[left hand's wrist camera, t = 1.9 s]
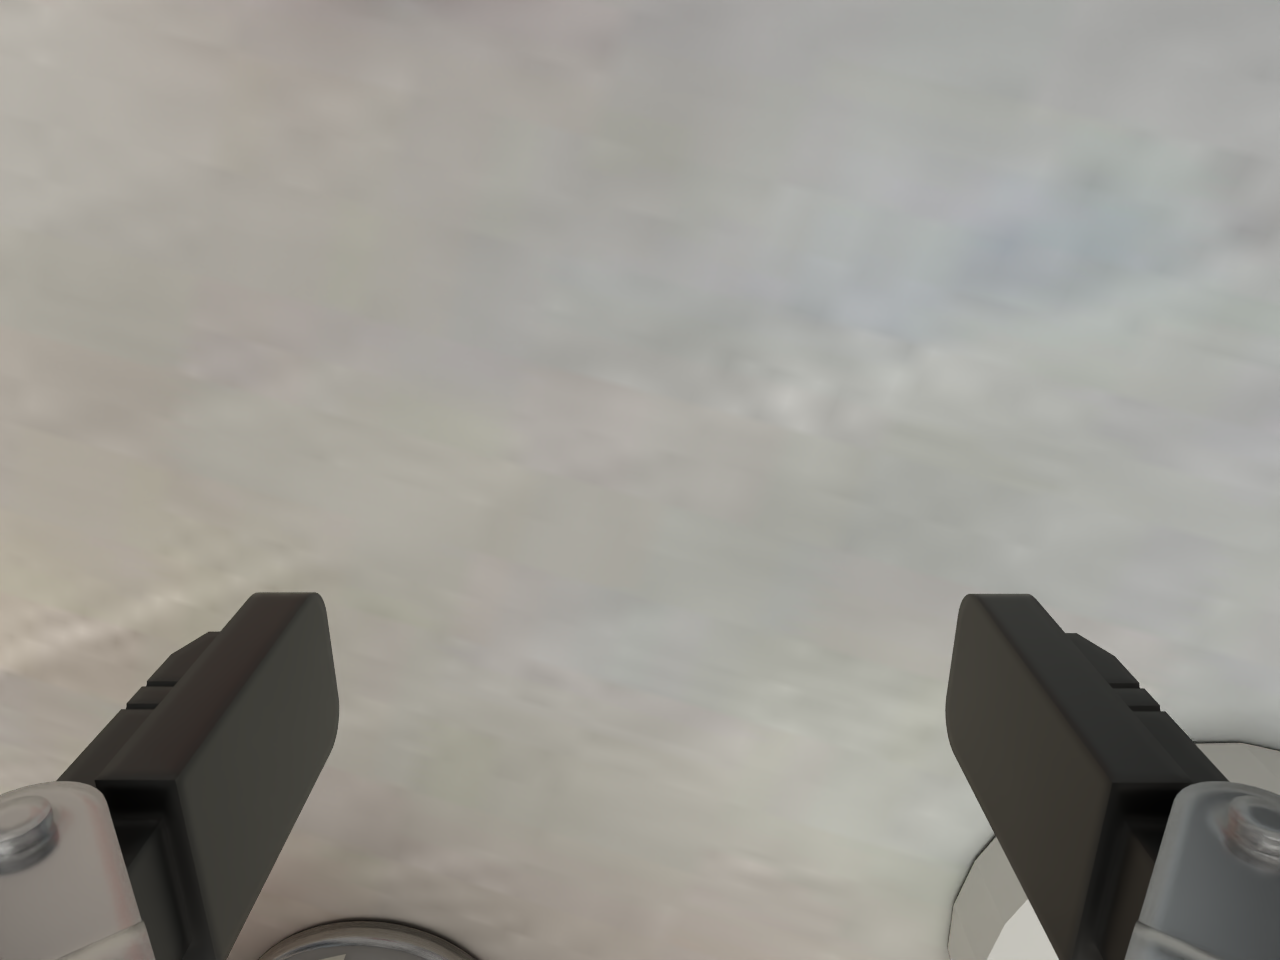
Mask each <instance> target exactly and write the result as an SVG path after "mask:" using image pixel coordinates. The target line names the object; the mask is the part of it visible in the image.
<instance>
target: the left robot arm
mask: <svg viewBox="0 0 1280 960" xmlns="http://www.w3.org/2000/svg"><path fill="white" fill-rule="evenodd" d="M945 711H946V726H947V733H948V738H949V741H950V745H951V748H952V750H953V753H954V755H955V757H956V759H957V761H958V763H959V765H960V767H961V769H962V771H963V773H964V775H965V776H966V778H967V780H968V782H969V784H970V786H971V788H972V790H973V792H974V794H975V796H976V798H977V800H978V802H979V804H980V806H981V808H982V810H983V812H984V814H985V816H986V818H987V820H988V822H989V823H990V825H991V827H992V829H993V831H994V833H995V835H996V837H997V839H998V841H999V843H1000V845H1001V847H1002V849H1003V851H1004V853H1005V855H1006V857H1007V859H1008V861H1009V863H1010V865H1011V867H1012V869H1013V871H1014V872H1015V874H1016V876H1017V878H1018V880H1019V882H1020V884H1021V886H1022V888H1023V890H1024V892H1025V894H1026V896H1027V898H1028V900H1029V902H1030V904H1031V906H1032V908H1033V910H1034V912H1035V914H1036V916H1037V918H1038V919H1039V921H1040V923H1041V925H1042V927H1043V929H1044V931H1045V933H1046V935H1047V937H1048V939H1049V941H1050V943H1051V945H1052V947H1053V949H1054V951H1055V953H1056V955H1057V957H1058V959H1059V960H1280V795H1278V794H1276V793H1273V792H1271V791H1268V790H1264V789H1261V788H1258V787H1254V786H1250V785H1245V784H1241V783H1234V782H1230V781H1229V780H1228V779H1227V778H1226V777H1225V776H1224V775H1223V774H1222V773H1221V772H1220V771H1219V770H1218V768H1217V767H1216V766H1215V765H1214V764H1213V763H1212V762H1211V761H1210V760H1209V759H1208V758H1207V756H1206V755H1205V754H1204V753H1203V752H1202V751H1201V750H1200V749H1199V748H1198V747H1197V746H1196V744H1195V743H1194V742H1193V741H1192V740H1191V739H1190V738H1189V737H1188V736H1187V735H1186V734H1185V732H1184V731H1183V730H1182V729H1181V728H1180V727H1179V726H1178V725H1177V724H1176V723H1175V722H1174V720H1173V719H1172V718H1171V717H1170V716H1169V715H1168V714H1167V713H1166V712H1161V711H1160V705H1159V704H1158V703H1157V702H1156V701H1155V700H1154V699H1153V698H1152V696H1151V695H1150V694H1149V693H1148V692H1147V691H1146V690H1145V689H1140V687H1139V682H1138V681H1137V680H1136V679H1135V678H1134V677H1133V676H1132V675H1131V674H1130V672H1129V671H1128V670H1127V669H1126V668H1125V667H1124V666H1123V665H1122V664H1121V663H1120V662H1119V660H1118V659H1117V658H1116V657H1115V656H1113V655H1112V654H1110V653H1108V652H1107V651H1105V650H1103V649H1102V648H1100V647H1098V646H1097V645H1095V644H1093V643H1092V642H1090V641H1088V640H1087V639H1085V638H1084V637H1082V636H1080V635H1079V634H1077V633H1065V632H1064V631H1063V630H1062V629H1061V628H1060V627H1059V625H1058V624H1057V623H1056V622H1055V621H1054V620H1053V618H1052V617H1051V616H1050V615H1049V614H1048V613H1047V611H1046V610H1045V609H1044V608H1043V607H1042V606H1041V604H1040V603H1039V602H1038V601H1037V600H1036V599H1035V598H1034V597H1033V596H1032V595H1030V594H968V595H966V596H965V597H964V599H963V600H962V602H961V605H960V608H959V613H958V620H957V627H956V634H955V641H954V647H953V654H952V661H951V668H950V675H949V682H948V689H947V696H946V709H945ZM338 721H339V698H338V690H337V683H336V676H335V669H334V662H333V655H332V648H331V641H330V634H329V627H328V620H327V613H326V608H325V604H324V601H323V599H322V597H321V596H320V595H319V594H318V593H255V594H253V595H252V596H251V597H250V598H249V599H248V600H247V601H246V602H245V603H244V605H243V606H242V607H241V608H240V609H239V610H238V612H237V613H236V614H235V615H234V616H233V618H232V619H231V620H230V621H229V622H228V623H227V625H226V626H225V627H224V628H223V629H222V630H221V632H208V633H206V634H204V635H203V636H201V637H199V638H198V639H196V640H194V641H193V642H191V643H189V644H188V645H186V646H184V647H183V648H181V649H180V650H178V651H176V652H175V653H173V654H171V655H170V656H169V658H168V659H167V660H166V661H165V662H164V663H163V664H162V665H161V666H160V667H159V669H158V670H157V671H156V672H155V673H154V674H153V675H152V676H151V677H150V678H149V680H148V681H147V686H146V687H141V688H140V689H139V691H138V692H137V693H136V694H135V695H134V696H133V697H132V698H131V699H130V700H129V702H128V703H127V707H126V709H121V710H120V711H119V713H118V714H117V715H116V716H115V717H114V718H113V719H112V720H111V721H110V722H109V724H108V725H107V726H106V727H105V728H104V729H103V730H102V731H101V732H100V733H99V735H98V736H97V737H96V738H95V739H94V740H93V741H92V742H91V743H90V744H89V746H88V747H87V748H86V749H85V750H84V751H83V752H82V753H81V754H80V755H79V757H78V758H77V759H76V760H75V761H74V762H73V763H72V764H71V765H70V766H69V768H68V769H67V770H66V771H65V772H64V773H63V774H62V775H61V776H60V777H59V779H58V780H57V781H54V782H46V783H39V784H35V785H30V786H26V787H22V788H19V789H16V790H12V791H9V792H7V793H4V794H2V795H0V960H226V959H227V957H228V955H229V953H230V951H231V949H232V947H233V945H234V943H235V941H236V939H237V937H238V935H239V933H240V931H241V929H242V927H243V925H244V923H245V921H246V919H247V917H248V915H249V913H250V911H251V909H252V907H253V905H254V903H255V901H256V899H257V897H258V895H259V893H260V891H261V889H262V887H263V885H264V883H265V881H266V879H267V878H268V876H269V874H270V872H271V870H272V868H273V866H274V864H275V862H276V860H277V858H278V856H279V854H280V852H281V850H282V848H283V846H284V844H285V842H286V840H287V838H288V836H289V834H290V832H291V830H292V828H293V826H294V824H295V822H296V820H297V818H298V816H299V814H300V812H301V810H302V808H303V806H304V804H305V802H306V800H307V798H308V796H309V794H310V792H311V790H312V788H313V786H314V784H315V782H316V780H317V778H318V776H319V774H320V772H321V770H322V768H323V766H324V764H325V762H326V761H327V759H328V757H329V755H330V753H331V750H332V748H333V745H334V742H335V738H336V734H337V729H338Z"/></svg>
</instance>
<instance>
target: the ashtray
mask: <svg viewBox="0 0 1280 960" xmlns="http://www.w3.org/2000/svg"><path fill="white" fill-rule="evenodd" d="M1196 746H1197V747H1198V748H1199V749H1200V750H1201V751H1202V752H1203V753H1204V754H1205V755H1206V756H1207V758H1208V759H1209V760H1210V761H1211V762H1212V763H1213V764H1214V765H1215V766H1216V767H1217V768H1218V770H1219V771H1220V772H1221V773H1222V774H1223V775H1224V776H1225V777H1226V778H1227V779H1228V780H1229V781H1230V782H1234V783H1241V784H1245V785H1250V786H1254V787H1258V788H1261V789H1264V790H1268V791H1271V792H1273V793H1276V794H1278V795H1280V751H1277V750H1272V749H1268V748H1263V747H1258V746H1254V745H1249V744H1245V743H1208V744H1196ZM948 952H949V956H950V960H1059V959H1058V957H1057V955H1056V953H1055V951H1054V949H1053V947H1052V945H1051V943H1050V941H1049V939H1048V937H1047V935H1046V933H1045V931H1044V929H1043V927H1042V925H1041V923H1040V921H1039V919H1038V918H1037V916H1036V914H1035V912H1034V910H1033V908H1032V906H1031V904H1030V902H1029V900H1028V898H1027V896H1026V894H1025V892H1024V890H1023V888H1022V886H1021V884H1020V882H1019V880H1018V878H1017V876H1016V874H1015V872H1014V871H1013V869H1012V867H1011V865H1010V863H1009V861H1008V859H1007V857H1006V855H1005V853H1004V851H1003V849H1002V847H1001V845H1000V843H999V841H998V839H997V837H995V838H994V840H993V841H992V842H991V843H990V844H989V845H988V846H987V848H986V849H985V850H984V851H983V852H982V853H981V855H980V856H979V857H978V858H977V859H976V860H975V862H974V864H973V866H972V868H971V870H970V872H969V874H968V876H967V878H966V880H965V883H964V885H963V887H962V889H961V891H960V893H959V895H958V897H957V899H956V901H955V903H954V906H953V914H952V921H951V928H950V935H949V943H948Z"/></svg>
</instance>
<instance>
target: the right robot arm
mask: <svg viewBox="0 0 1280 960" xmlns="http://www.w3.org/2000/svg"><path fill="white" fill-rule="evenodd" d="M259 960H475V959H474V958H473V957H471V956H470V955H469V954H467V953H466V952H465V951H463V950H462V949H460V948H458V947H457V946H455V945H453V944H452V943H450V942H448V941H446V940H444V939H442V938H439V937H437V936H435V935H432V934H430V933H427V932H424V931H421V930H418V929H415V928H411V927H407V926H403V925H397V924H392V923H384V922H374V921H351V922H340V923H332V924H327V925H322V926H318V927H314V928H311V929H308V930H305V931H302V932H300V933H297V934H295V935H293V936H291V937H289V938H287V939H285V940H283V941H281V942H280V943H278V944H277V945H275V946H273V947H272V948H271V949H270V950H268V951H267V952H266V953H265V954H264V955H263V956H262V957H261V958H260V959H259Z"/></svg>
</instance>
